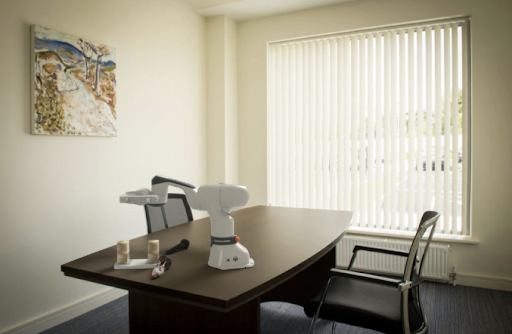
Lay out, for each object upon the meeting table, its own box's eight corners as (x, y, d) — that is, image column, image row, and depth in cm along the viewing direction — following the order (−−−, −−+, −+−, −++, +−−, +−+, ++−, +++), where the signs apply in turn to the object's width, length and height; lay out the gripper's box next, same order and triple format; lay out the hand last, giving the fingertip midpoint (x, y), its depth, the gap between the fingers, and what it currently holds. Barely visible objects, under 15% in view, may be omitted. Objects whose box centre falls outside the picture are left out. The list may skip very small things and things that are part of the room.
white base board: (162, 261, 185) (162, 258, 185) (159, 268, 175) (159, 264, 175) (118, 262, 182) (118, 259, 182) (113, 269, 172) (112, 266, 172)
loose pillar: (129, 260, 180) (129, 240, 180) (127, 263, 176) (127, 242, 175) (119, 261, 180) (119, 240, 179) (117, 264, 175) (117, 243, 175)
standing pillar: (158, 260, 182) (158, 239, 181) (157, 263, 177) (157, 242, 177) (149, 260, 181) (149, 240, 181) (147, 263, 177) (147, 242, 176)
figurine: (172, 251, 176) (155, 267, 158) (176, 264, 177) (159, 282, 159) (158, 254, 178) (139, 270, 160) (162, 267, 178) (144, 285, 161)
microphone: (165, 262, 194) (190, 248, 211) (167, 252, 193) (192, 239, 210) (158, 257, 197) (183, 244, 214) (159, 248, 195) (185, 235, 212)
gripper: (160, 202, 213) (156, 206, 200) (123, 203, 211) (116, 206, 197) (160, 191, 213) (156, 194, 199) (123, 192, 211) (116, 195, 197)
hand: (136, 200), depth 198 cm, fingers open, 8 cm apart
